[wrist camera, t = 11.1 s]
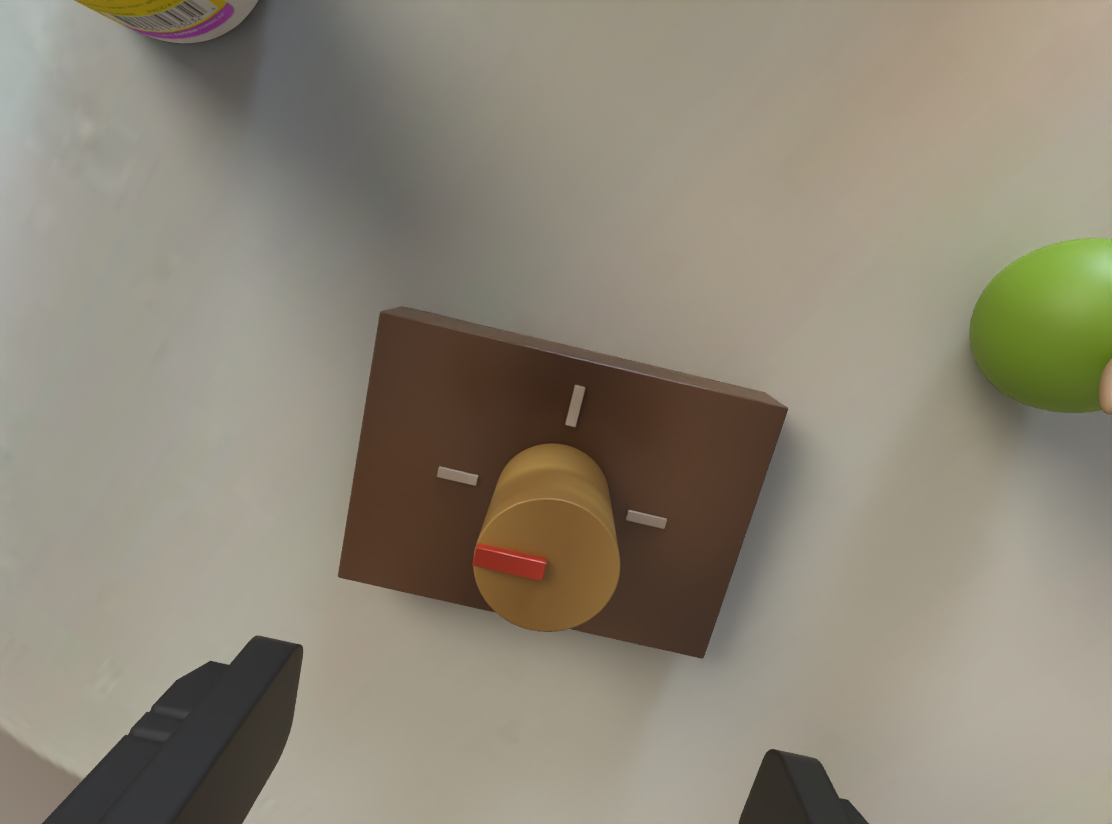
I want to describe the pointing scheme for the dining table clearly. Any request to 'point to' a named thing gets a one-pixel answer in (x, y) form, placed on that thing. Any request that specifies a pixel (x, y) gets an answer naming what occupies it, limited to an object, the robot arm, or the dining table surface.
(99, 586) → the dining table surface
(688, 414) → the dial panel
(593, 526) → the dial
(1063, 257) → the snail figurine
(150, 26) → the supplement bottle
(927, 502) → the dining table surface
